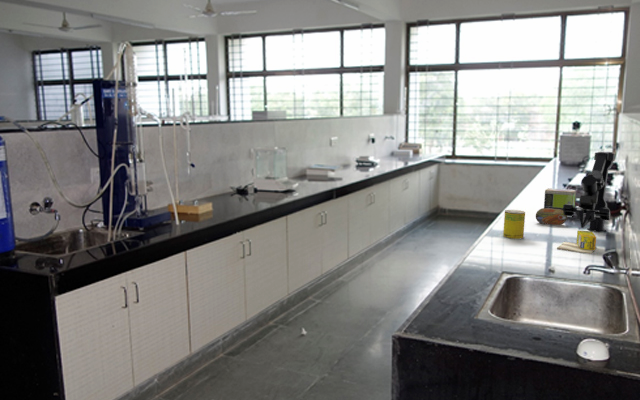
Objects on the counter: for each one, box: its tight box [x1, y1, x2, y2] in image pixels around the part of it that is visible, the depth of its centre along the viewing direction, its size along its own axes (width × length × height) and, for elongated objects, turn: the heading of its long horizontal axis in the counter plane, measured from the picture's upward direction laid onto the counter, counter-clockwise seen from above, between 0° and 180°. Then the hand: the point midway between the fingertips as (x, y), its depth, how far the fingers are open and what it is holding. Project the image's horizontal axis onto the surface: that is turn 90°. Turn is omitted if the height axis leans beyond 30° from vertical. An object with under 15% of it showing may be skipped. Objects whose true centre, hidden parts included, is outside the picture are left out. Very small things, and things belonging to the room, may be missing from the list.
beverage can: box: [502, 209, 526, 240], centre depth 244 cm, size 9×9×12 cm
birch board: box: [556, 241, 597, 255], centre depth 224 cm, size 13×13×1 cm
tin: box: [535, 207, 568, 226], centre depth 272 cm, size 15×3×8 cm, turn 68°
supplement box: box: [576, 230, 597, 251], centre depth 224 cm, size 6×6×11 cm
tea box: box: [543, 188, 577, 218], centre depth 295 cm, size 15×10×15 cm, turn 58°
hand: (582, 227), depth 229 cm, fingers closed
